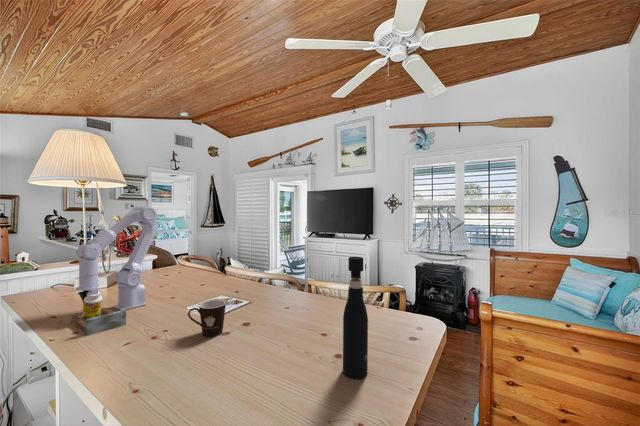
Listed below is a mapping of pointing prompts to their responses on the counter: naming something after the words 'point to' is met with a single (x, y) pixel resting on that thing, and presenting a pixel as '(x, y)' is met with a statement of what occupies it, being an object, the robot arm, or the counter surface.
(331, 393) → the counter surface
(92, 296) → the supplement bottle
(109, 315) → the guide track
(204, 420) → the counter surface
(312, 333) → the counter surface
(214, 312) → the coffee mug
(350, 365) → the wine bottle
